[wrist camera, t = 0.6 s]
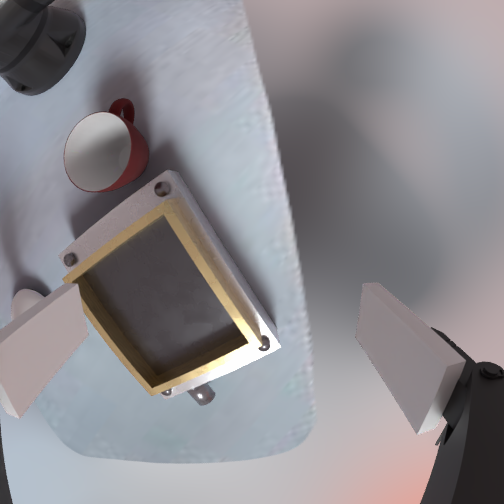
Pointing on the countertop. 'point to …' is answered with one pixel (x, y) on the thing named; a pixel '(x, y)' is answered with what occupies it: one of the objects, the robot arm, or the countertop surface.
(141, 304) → the gold rimmed tray box
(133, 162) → the mug
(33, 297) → the flower in vase
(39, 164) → the countertop surface
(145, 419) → the countertop surface
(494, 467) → the robot arm
